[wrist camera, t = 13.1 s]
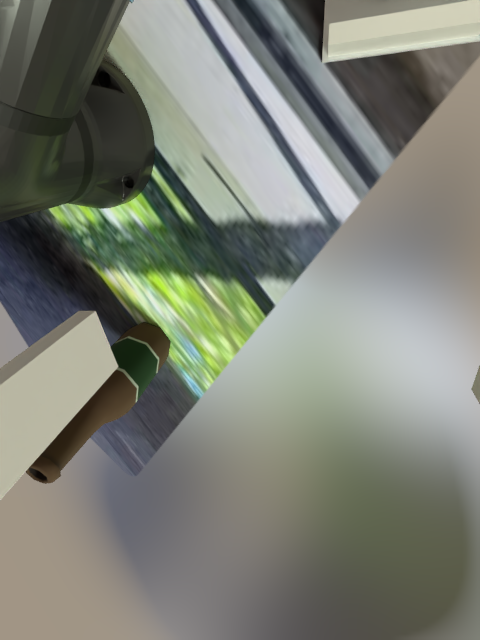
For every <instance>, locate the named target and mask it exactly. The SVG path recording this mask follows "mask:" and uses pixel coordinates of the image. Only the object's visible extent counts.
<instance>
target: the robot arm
mask: <svg viewBox="0 0 480 640" xmlns="http://www.w3.org/2000/svg"><path fill="white" fill-rule="evenodd" d="M133 1H134V0H0V222H3V221H6V220H10V219H13V218H17V217H20V216H24V215H27V214H31V213H34V212H38V211H41V210H45V209H48V208H52V207H56V206H59V205H62V204H66V203H69V204H75V205H80V206H86V207H92V208H111V207H115V206H118V205H121V204H124V203H127V202H129V201H131V200H132V199H134V198H135V197H137V196H138V195H139V194H140V193H141V192H142V190H143V189H144V188H145V186H146V184H147V183H148V180H149V178H150V176H151V173H152V169H153V164H154V155H155V146H154V136H153V130H152V126H151V122H150V119H149V116H148V113H147V110H146V108H145V106H144V104H143V102H142V100H141V98H140V96H139V94H138V93H137V91H136V90H135V88H134V87H133V85H132V84H131V83H130V82H129V80H128V79H127V78H126V77H125V76H124V75H123V74H122V73H121V72H120V71H119V70H118V69H117V68H115V67H114V66H113V65H111V64H110V63H108V62H107V61H105V60H103V57H104V55H105V53H106V51H107V48H108V46H109V44H110V42H111V40H112V38H113V36H114V34H115V32H116V29H117V27H118V25H119V23H120V21H121V19H122V17H123V15H124V12H125V10H126V8H127V6H128V4H129V2H131V3H133ZM117 368H118V365H117V362H116V360H115V357H114V355H113V352H112V350H111V348H110V345H109V343H108V340H107V338H106V335H105V333H104V331H103V328H102V326H101V323H100V321H99V318H98V316H97V313H96V311H78V312H77V313H76V314H74V315H73V316H71V317H70V318H69V319H67V320H66V321H65V322H63V323H62V324H60V325H59V326H58V327H56V328H55V329H54V330H52V331H51V332H49V333H48V334H47V335H45V336H44V337H43V338H41V339H40V340H38V341H37V342H36V343H34V344H33V345H32V346H30V347H29V348H27V349H26V350H25V351H24V352H22V353H21V354H19V355H18V356H16V357H15V358H14V359H13V360H11V361H10V362H8V363H7V364H5V365H4V366H3V367H2V368H0V500H1V499H2V498H3V497H4V495H5V494H6V493H7V492H8V491H9V490H10V489H11V488H12V486H13V485H14V484H15V483H16V482H17V481H18V480H19V478H20V477H21V476H22V475H23V474H24V473H25V472H26V471H27V469H28V468H29V467H30V466H31V465H32V464H33V463H34V461H35V460H36V459H37V458H38V457H39V456H40V455H41V454H42V452H43V451H44V450H45V449H46V448H47V447H48V446H49V445H50V443H51V442H52V441H53V440H54V439H55V438H56V437H57V435H58V434H59V433H60V432H61V431H62V430H63V429H64V428H65V426H66V425H67V424H68V423H69V422H70V421H71V420H72V418H73V417H74V416H75V415H76V414H77V413H78V412H79V411H80V409H81V408H82V407H83V406H84V405H85V404H86V403H87V402H88V400H89V399H90V398H91V397H92V396H93V395H94V394H95V392H96V391H97V390H98V389H99V388H100V387H101V386H102V385H103V383H104V382H105V381H106V380H107V379H108V378H109V377H110V376H111V374H112V373H113V372H114V371H115V370H116V369H117ZM472 391H473V393H474V395H475V396H476V398H477V400H478V402H479V403H480V366H479V369H478V372H477V375H476V378H475V381H474V384H473V387H472Z"/></svg>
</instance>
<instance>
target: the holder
mask: <svg viewBox="0 0 480 640" xmlns="http://www.w3.org/2000/svg"><path fill="white" fill-rule="evenodd" d="M478 41H480V0H325V13H324V33H323V54H322V63H326V62H334V61H341V60H348V59H355V58H362V57H370V56H377V55H384V54H391V53H399V52H406V51H413V50H420V49H427V48H435V47H442V46H449V45H456V44H464V43H471V42H478Z"/></svg>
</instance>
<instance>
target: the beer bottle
mask: <svg viewBox="0 0 480 640" xmlns="http://www.w3.org/2000/svg"><path fill="white" fill-rule="evenodd" d="M110 348H111V350H112V352H113V355H114V357H115V360H116V362H117V365H118V368H117V369H116V370H115V371H114V372H113V373H112V374H111V376H110V377H109V378H108V379H107V380H106V381H105V382H104V383H103V385H102V386H101V387H100V388H99V389H98V390H97V391H96V392H95V394H94V395H93V396H92V397H91V398H90V399H89V400H88V402H87V403H86V404H85V405H84V406H83V407H82V408H81V409H80V411H79V412H78V413H77V414H76V415H75V416H74V417H73V418H72V420H71V421H70V422H69V423H68V424H67V425H66V426H65V428H64V429H63V430H62V431H61V432H60V433H59V434H58V435H57V437H56V438H55V439H54V440H53V441H52V442H51V443H50V445H49V446H48V447H47V448H46V449H45V450H44V451H43V452H42V454H41V455H40V456H39V457H38V458H37V459H36V460H35V461H34V463H33V464H32V465H31V466H30V467H29V468H28V469H27V471H26V473H27V474H28V475H29V476H31V477H32V478H33V479H34V480H37V481H39V482H42V483H45V484H46V483H52V482H54V481H55V480H56V479H57V478H59V477H60V476H61V475H60V471H61V470H62V469H63V468H64V466H65V465H66V464H67V463H68V462H69V461H70V460H71V459H72V457H73V456H74V455H75V454H76V453H77V452H78V450H79V449H80V448H81V447H82V446H83V445H84V444H85V443H86V441H87V440H88V439H89V438H90V437H91V436H92V435H93V433H94V432H96V431H97V430H98V429H99V428H100V427H101V426H102V425H103V424H105V423H108V422H111V421H114V420H116V419H118V418H120V417H121V416H123V415H124V414H126V413H127V412H128V411H129V410H130V409H131V408H132V407H133V405H134V404H135V403H136V402H137V400H138V399H139V398H140V396H141V395H142V393H143V392H144V390H145V389H146V388H147V386H148V385H149V383H150V382H151V381H152V379H153V378H154V376H155V375H156V374H157V372H158V371H159V369H160V368H161V366H162V365H163V364H164V362H165V360H166V359H167V357H168V354H169V348H170V340H169V339H168V338H167V336H166V335H165V334H164V332H163V331H162V330H161V328H159V327H156V326H153V325H151V324H148V323H145V322H143V323H141V324H139V325H136V326H134V327H132V328H130V329H129V330H128V331H127V332H125V333H124V334H123V335H122V336H121V337H120V338H119V339H118V340H117V341H116V342H115V343H114V344H113V345H112V346H111V347H110Z"/></svg>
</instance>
